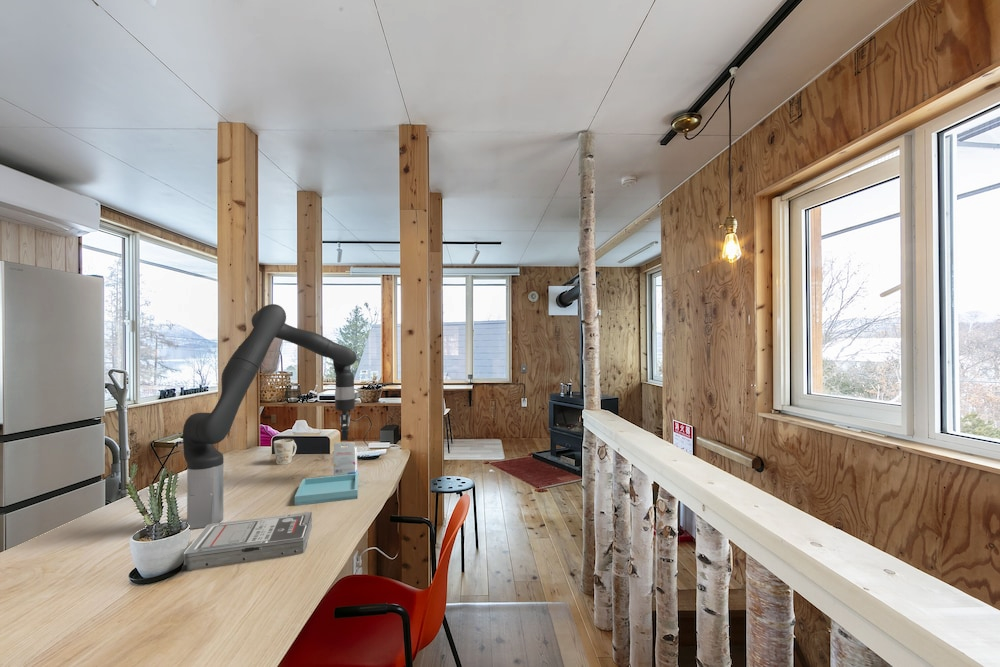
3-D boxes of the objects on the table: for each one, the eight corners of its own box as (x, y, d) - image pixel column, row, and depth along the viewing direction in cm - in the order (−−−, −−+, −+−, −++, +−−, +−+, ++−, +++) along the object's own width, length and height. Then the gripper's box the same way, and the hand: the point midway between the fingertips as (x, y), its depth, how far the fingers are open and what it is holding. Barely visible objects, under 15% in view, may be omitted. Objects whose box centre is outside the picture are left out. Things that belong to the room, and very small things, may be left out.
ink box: (357, 475, 178) (357, 439, 178) (355, 479, 173) (355, 442, 173) (335, 476, 176) (335, 440, 177) (333, 480, 171) (333, 443, 172)
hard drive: (207, 540, 121) (207, 524, 121) (312, 526, 129) (312, 511, 130) (181, 573, 104) (181, 554, 104) (304, 555, 112) (304, 537, 112)
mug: (269, 465, 194) (269, 442, 195) (287, 457, 207) (287, 436, 207) (286, 465, 193) (286, 443, 193) (303, 458, 205) (303, 437, 206)
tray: (357, 498, 151) (357, 489, 151) (294, 505, 145) (294, 496, 145) (358, 481, 170) (358, 473, 170) (302, 486, 164) (302, 478, 164)
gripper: (354, 399, 169) (354, 441, 169) (355, 395, 183) (355, 433, 183) (333, 400, 167) (334, 442, 167) (336, 396, 181) (336, 435, 181)
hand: (345, 437), depth 175 cm, fingers open, 8 cm apart
